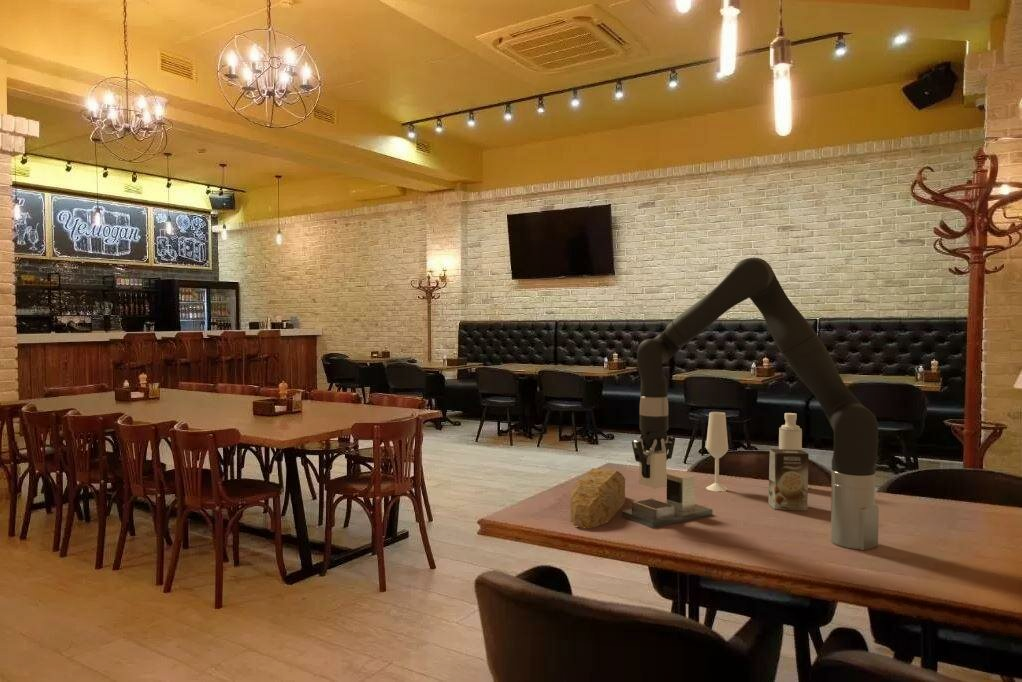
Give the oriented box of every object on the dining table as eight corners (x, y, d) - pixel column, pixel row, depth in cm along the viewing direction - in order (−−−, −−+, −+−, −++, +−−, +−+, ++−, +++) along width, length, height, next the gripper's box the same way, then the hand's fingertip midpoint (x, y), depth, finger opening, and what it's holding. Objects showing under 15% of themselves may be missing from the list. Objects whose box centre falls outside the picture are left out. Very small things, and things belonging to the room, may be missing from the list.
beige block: (654, 488, 178) (655, 454, 177) (639, 483, 183) (639, 450, 182) (667, 486, 180) (667, 452, 180) (652, 481, 185) (652, 449, 185)
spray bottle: (806, 488, 213) (806, 409, 212) (787, 490, 211) (788, 410, 210) (791, 483, 219) (792, 407, 218) (774, 485, 217) (774, 407, 216)
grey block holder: (712, 514, 185) (712, 476, 185) (652, 527, 173) (652, 487, 173) (680, 504, 195) (680, 468, 195) (621, 516, 184) (621, 478, 183)
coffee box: (774, 509, 189) (774, 452, 189) (768, 503, 196) (768, 448, 195) (808, 510, 189) (809, 453, 188) (800, 504, 195) (801, 449, 194)
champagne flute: (701, 487, 215) (701, 412, 214) (719, 485, 217) (720, 411, 216) (713, 492, 209) (714, 414, 208) (732, 490, 211) (733, 413, 210)
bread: (595, 493, 209) (595, 461, 209) (630, 496, 205) (630, 463, 205) (560, 526, 176) (560, 488, 175) (602, 531, 172) (602, 492, 172)
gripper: (643, 416, 174) (643, 482, 174) (683, 412, 181) (683, 476, 182) (624, 413, 180) (623, 477, 181) (663, 409, 188) (663, 470, 188)
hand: (653, 476), depth 181 cm, fingers closed on beige block, 4 cm apart
